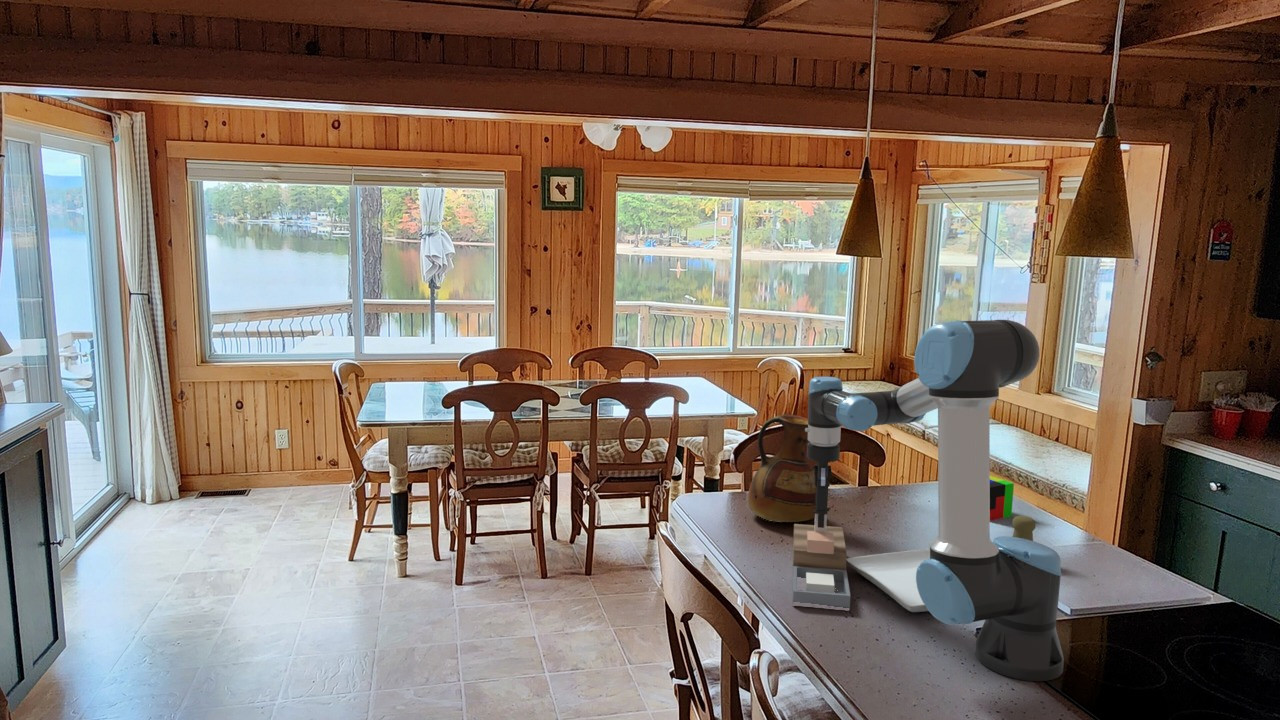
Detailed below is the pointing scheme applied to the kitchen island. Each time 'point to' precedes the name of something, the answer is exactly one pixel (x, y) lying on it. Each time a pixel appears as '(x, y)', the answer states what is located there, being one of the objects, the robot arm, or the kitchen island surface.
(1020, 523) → the cork
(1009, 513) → the puzzle toy
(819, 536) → the terracotta tile
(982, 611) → the robot arm
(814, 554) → the brushed bronze panel
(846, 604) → the bin
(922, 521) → the kitchen island surface
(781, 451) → the ceramic pitcher
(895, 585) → the square plate
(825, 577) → the cream tile
